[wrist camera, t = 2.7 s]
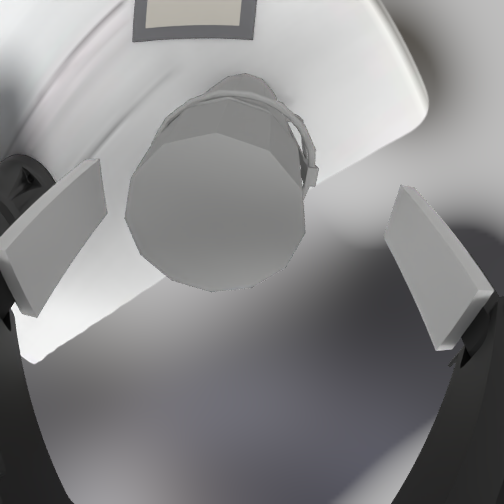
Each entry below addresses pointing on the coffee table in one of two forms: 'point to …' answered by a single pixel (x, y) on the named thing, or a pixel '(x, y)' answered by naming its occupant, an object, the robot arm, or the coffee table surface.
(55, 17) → the coffee table surface
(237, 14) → the coaster mat
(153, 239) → the water bottle
